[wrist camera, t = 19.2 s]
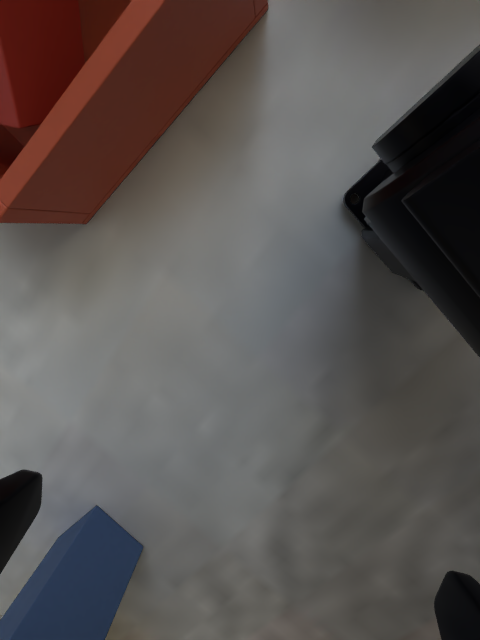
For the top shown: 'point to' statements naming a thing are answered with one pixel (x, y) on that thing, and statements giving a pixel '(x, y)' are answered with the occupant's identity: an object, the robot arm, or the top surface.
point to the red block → (37, 57)
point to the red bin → (116, 102)
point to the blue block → (75, 584)
